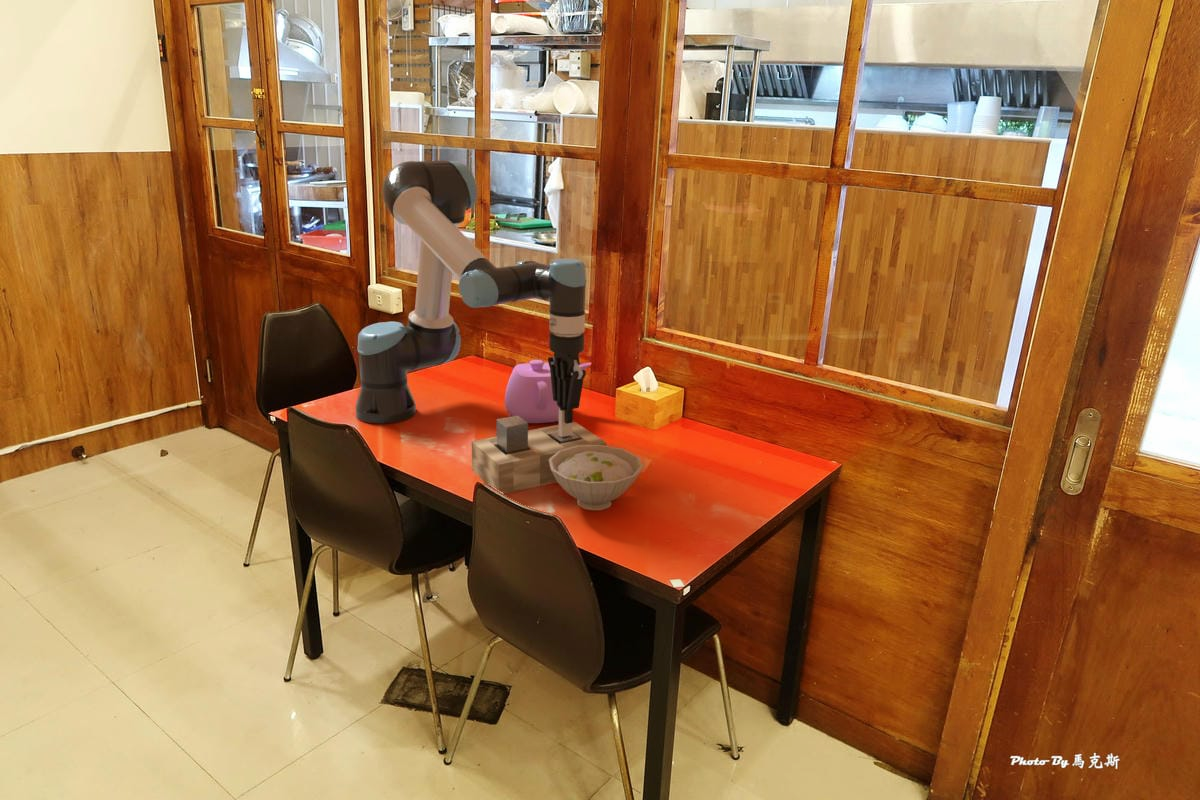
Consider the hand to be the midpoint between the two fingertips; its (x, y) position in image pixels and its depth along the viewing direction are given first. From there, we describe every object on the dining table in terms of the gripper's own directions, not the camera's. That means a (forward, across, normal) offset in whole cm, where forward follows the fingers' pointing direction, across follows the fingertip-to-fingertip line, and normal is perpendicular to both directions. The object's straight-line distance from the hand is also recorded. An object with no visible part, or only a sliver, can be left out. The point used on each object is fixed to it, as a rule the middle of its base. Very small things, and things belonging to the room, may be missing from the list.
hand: (565, 434), depth 178 cm
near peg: (+1, 0, -13) cm, 13 cm away
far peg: (+7, 0, 0) cm, 7 cm away
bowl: (+8, +19, -4) cm, 21 cm away
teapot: (+8, -31, +10) cm, 33 cm away
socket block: (+8, 0, -6) cm, 10 cm away
